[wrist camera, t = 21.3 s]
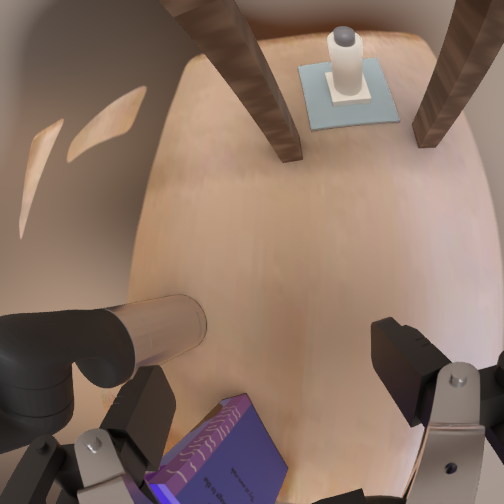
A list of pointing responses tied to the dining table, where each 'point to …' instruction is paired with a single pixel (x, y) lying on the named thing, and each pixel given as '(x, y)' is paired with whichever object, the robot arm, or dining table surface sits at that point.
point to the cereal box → (222, 460)
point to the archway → (269, 95)
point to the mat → (349, 115)
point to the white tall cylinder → (346, 68)
